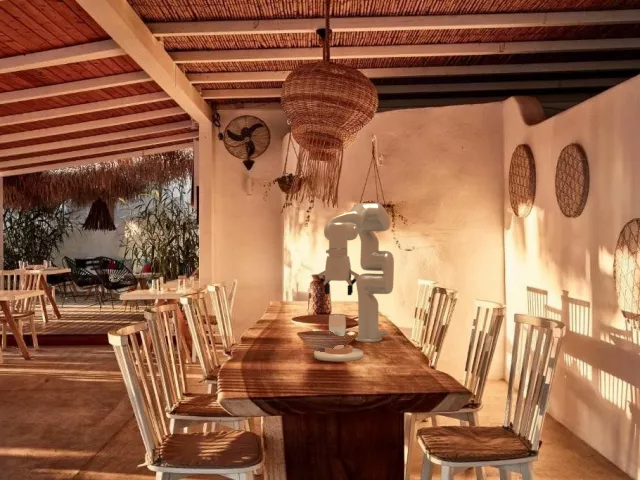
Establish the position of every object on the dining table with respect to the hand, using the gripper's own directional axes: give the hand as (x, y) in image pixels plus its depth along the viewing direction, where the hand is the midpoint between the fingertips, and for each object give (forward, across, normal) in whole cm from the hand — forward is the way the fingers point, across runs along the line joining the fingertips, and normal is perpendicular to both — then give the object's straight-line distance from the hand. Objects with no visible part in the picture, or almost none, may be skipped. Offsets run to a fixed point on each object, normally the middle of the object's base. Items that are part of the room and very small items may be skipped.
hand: (338, 294), depth 247 cm
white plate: (+25, 0, 0) cm, 25 cm away
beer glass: (+23, 0, 0) cm, 23 cm away
